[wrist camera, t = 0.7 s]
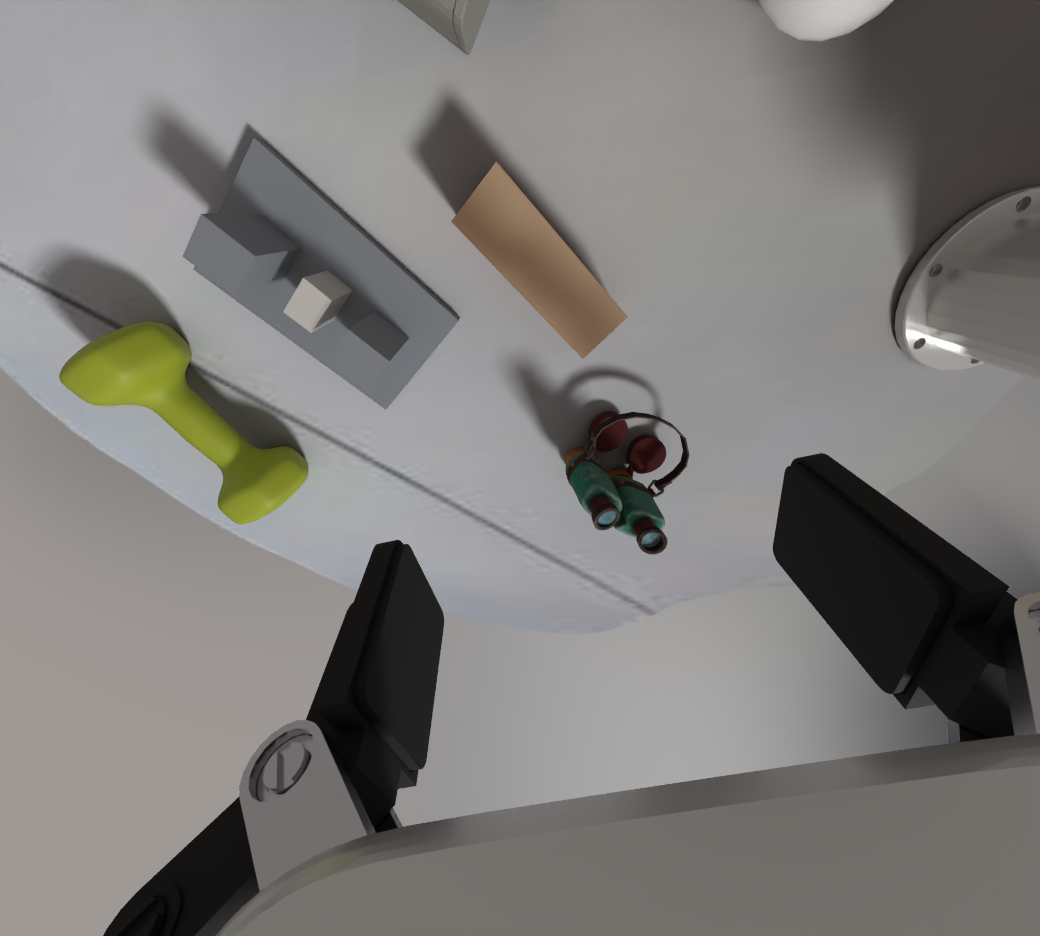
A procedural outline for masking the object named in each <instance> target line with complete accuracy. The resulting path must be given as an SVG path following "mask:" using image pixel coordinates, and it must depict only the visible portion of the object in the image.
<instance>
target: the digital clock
mask: <svg viewBox="0 0 1040 936" xmlns="http://www.w3.org/2000/svg"><path fill="white" fill-rule="evenodd" d="M398 1H399V2H400V3H402V4H403V5H404V6H405V7H407V8H408V9H409V10H411V11H412V12H413V13H414V14H416V15H417V16H418V17H419V18H421V19H422V20H423V21H425V22H426V23H427V24H428V25H430V26H431V27H432V28H434V29H435V30H436V31H437V32H439V33H440V34H441V35H442V36H444V37H445V38H446V39H448V40H449V41H450V42H451V43H453V44H454V45H455V46H456V47H458V48H459V49H460V50H462V51H463V52H464V53H465V54H467V55H469V53H470V52H471V49H472V47H473V44H474V42H475V39H476V36H477V34H478V31H479V28H480V26H481V23H482V20H483V18H484V15H485V12H486V9H487V7H488V4H489V1H490V0H398Z"/></svg>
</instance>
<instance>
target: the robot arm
mask: <svg viewBox="0 0 1040 936" xmlns="http://www.w3.org/2000/svg"><path fill="white" fill-rule="evenodd" d="M895 332H896V339H897V342H898V344H899V346H900V348H901V350H902V351H903V352H904V354H905V355H906V356H907V357H908V358H909V359H911V360H913V361H914V362H916V363H918V364H920V365H923V366H926V367H929V368H932V369H937V370H944V371H950V370H962V369H967V368H972V367H976V366H979V365H982V364H984V363H988V364H992V365H995V366H998V367H1001V368H1004V369H1008V370H1011V371H1014V372H1017V373H1020V374H1024V375H1027V376H1030V377H1033V378H1037V379H1040V187H1028V188H1024V189H1021V190H1017V191H1013V192H1009V193H1007V194H1005V195H1002V196H1000V197H998V198H996V199H993V200H991V201H989V202H987V203H985V204H984V205H982V206H980V207H979V208H977V209H976V210H974V211H972V212H971V213H969V214H968V215H966V216H965V217H964V218H962V219H961V220H960V221H959V222H957V223H956V224H955V225H954V226H952V227H951V228H950V229H949V230H948V231H947V232H946V233H945V234H944V235H943V236H942V237H941V238H940V239H939V240H938V241H936V242H935V243H934V244H933V246H932V247H931V248H930V249H929V251H928V252H927V253H926V254H925V255H924V257H923V258H922V259H921V260H920V262H919V263H918V265H917V266H916V268H915V269H914V271H913V273H912V274H911V276H910V277H909V279H908V281H907V283H906V285H905V287H904V290H903V292H902V294H901V296H900V300H899V303H898V307H897V310H896V317H895ZM773 553H774V556H775V558H776V560H777V562H778V563H779V564H780V566H781V567H782V568H783V569H784V571H785V572H786V573H787V574H788V575H789V577H790V578H791V579H792V580H793V582H794V583H795V584H796V585H797V587H798V588H799V589H800V590H801V591H802V593H803V594H804V595H805V596H806V597H807V599H808V600H809V601H810V602H811V604H812V605H813V606H814V607H815V609H816V610H817V611H818V612H819V614H820V615H821V616H822V617H823V619H824V620H825V621H826V622H827V624H828V625H829V626H830V627H831V628H832V630H833V631H834V632H835V633H836V635H837V636H838V637H839V638H840V640H841V641H842V642H843V643H844V644H845V646H846V647H847V648H848V649H849V650H850V652H851V653H852V654H853V656H854V657H855V658H856V659H857V660H858V662H859V663H860V664H861V665H862V667H863V668H864V669H865V670H866V672H867V673H868V674H869V675H870V677H871V678H872V679H873V680H874V681H875V683H876V684H877V685H878V686H879V687H880V688H881V689H882V690H883V691H884V692H886V693H889V694H893V695H894V696H895V697H896V699H897V700H898V701H899V702H900V703H901V705H902V706H903V707H904V708H905V709H910V708H917V707H923V706H929V705H934V704H936V705H937V707H938V708H939V709H940V710H941V711H942V712H943V713H944V714H945V715H946V717H947V727H948V744H943V745H935V746H927V747H920V748H912V749H905V750H898V751H892V752H885V753H878V754H871V755H864V756H857V757H851V758H843V759H836V760H829V761H822V762H816V763H809V764H802V765H795V766H788V767H781V768H774V769H768V770H761V771H754V772H747V773H740V774H734V775H727V776H720V777H714V778H707V779H700V780H693V781H688V782H680V783H673V784H667V785H660V786H654V787H648V788H640V789H634V790H627V791H620V792H614V793H607V794H601V795H594V796H588V797H581V798H575V799H569V800H562V801H556V802H549V803H543V804H537V805H530V806H523V807H517V808H511V809H504V810H497V811H491V812H485V813H479V814H473V815H467V816H462V817H456V818H450V819H445V820H440V821H433V822H427V823H422V824H416V825H411V826H405V827H403V826H402V824H401V822H400V820H399V818H398V816H397V814H396V813H395V811H394V809H393V806H394V805H395V801H396V796H397V790H398V789H399V788H406V787H412V786H416V783H417V776H418V769H422V768H423V767H424V766H425V763H426V759H427V752H428V743H429V736H430V728H431V720H432V713H433V705H434V697H435V690H436V682H437V674H438V666H439V658H440V650H441V643H442V636H443V627H444V616H443V612H442V609H441V607H440V605H439V603H438V601H437V599H436V597H435V595H434V593H433V591H432V589H431V587H430V585H429V583H428V581H427V579H426V577H425V575H424V573H423V571H422V569H421V567H420V565H419V563H418V561H417V559H416V557H415V555H414V553H413V551H412V549H411V547H410V546H409V545H408V544H404V545H403V543H402V542H401V541H400V540H395V541H390V542H385V543H381V544H377V545H375V547H374V549H373V552H372V554H371V557H370V560H369V562H368V565H367V568H366V571H365V573H364V576H363V579H362V581H361V584H360V587H359V589H358V592H357V595H356V598H355V600H354V602H353V603H352V604H351V605H350V607H349V609H348V610H347V613H346V615H345V618H344V621H343V623H342V626H341V629H340V631H339V634H338V637H337V639H336V642H335V644H334V647H333V650H332V652H331V655H330V658H329V660H328V663H327V666H326V668H325V671H324V673H323V676H322V679H321V682H320V684H319V687H318V689H317V692H316V695H315V698H314V700H313V703H312V705H311V708H310V710H309V713H308V716H307V718H306V720H299V721H294V722H292V723H290V724H287V725H285V726H283V727H281V728H280V729H278V730H277V731H275V732H274V733H272V735H270V737H268V738H267V739H266V740H265V741H264V742H263V743H262V744H261V745H260V746H259V748H258V749H257V750H256V752H255V753H254V754H253V756H252V757H251V759H250V761H249V763H248V765H247V766H246V769H245V770H244V772H243V776H242V780H241V783H240V796H239V797H238V798H237V799H236V800H235V801H234V802H233V803H232V804H231V805H230V806H229V807H228V808H227V809H226V810H224V811H223V812H222V813H221V814H220V815H219V816H218V817H217V818H216V819H215V820H214V821H213V822H212V823H211V824H210V825H208V826H207V827H206V828H205V829H204V830H203V831H202V832H201V833H200V834H199V835H198V836H197V837H196V838H195V839H193V840H192V841H191V842H190V843H189V844H188V845H187V846H186V847H185V848H184V849H183V850H182V851H181V852H180V853H178V854H177V855H176V856H175V857H174V858H173V859H172V860H171V861H170V862H169V863H168V864H167V865H166V866H165V867H164V868H162V869H161V870H160V871H159V872H158V873H157V874H156V875H155V876H154V877H153V878H152V879H151V880H150V881H148V882H147V883H146V884H145V885H144V886H143V887H142V888H141V889H140V890H139V891H138V892H137V893H136V894H135V895H134V896H133V897H132V898H131V899H130V900H129V901H128V903H127V904H126V905H125V906H124V907H123V908H122V909H121V910H120V912H119V913H118V915H117V916H116V917H115V919H114V920H113V921H112V923H111V924H110V925H109V927H108V928H107V930H106V932H105V933H104V935H103V936H1040V593H1033V594H1029V595H1025V596H1022V597H1021V598H1020V599H1019V600H1017V599H1016V598H1014V597H1013V596H1012V595H1010V594H1009V593H1008V592H1006V591H1007V590H1008V588H1009V586H1008V585H1006V584H1005V583H1004V582H1002V581H1001V580H999V579H998V578H996V577H995V576H994V575H992V574H991V573H990V572H988V571H987V570H985V569H984V568H983V567H981V566H980V565H979V564H977V563H976V562H974V561H973V560H972V559H970V558H969V557H967V556H966V555H965V554H963V553H962V552H961V551H959V550H958V549H956V548H955V547H954V546H952V545H951V544H950V543H948V542H947V541H945V540H944V539H943V538H941V537H940V536H938V535H937V534H936V533H934V532H933V531H932V530H930V529H929V528H928V527H926V526H925V525H923V524H922V523H921V522H919V521H918V520H917V519H915V518H914V517H912V516H911V515H910V514H908V513H907V512H905V511H904V510H903V509H901V508H900V507H899V506H897V505H896V504H894V503H893V502H892V501H890V500H889V499H887V498H886V497H885V496H883V495H882V494H881V493H879V492H878V491H876V490H875V489H874V488H872V487H871V486H870V485H868V484H867V483H865V482H864V481H863V480H861V479H860V478H858V477H857V476H856V475H854V474H853V473H852V472H850V471H849V470H847V469H846V468H845V467H843V466H842V465H841V464H839V463H838V462H836V461H835V460H834V459H832V458H831V457H829V456H828V455H826V454H822V453H820V454H815V455H810V456H805V457H800V458H796V459H794V460H793V462H792V464H791V466H788V467H787V468H786V470H785V474H784V480H783V487H782V493H781V499H780V505H779V512H778V518H777V524H776V530H775V537H774V543H773Z"/></svg>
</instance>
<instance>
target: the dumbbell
mask: <svg viewBox="0 0 1040 936" xmlns="http://www.w3.org/2000/svg"><path fill="white" fill-rule="evenodd" d="M191 356H192V354H191V349H190V346H189V345H188V344H187V342H186V341H185V340H184V339H183V338H182V337H181V336H180V335H179V334H178V333H177V332H176V331H175V330H174V329H172V328H171V327H170V326H168V325H166V324H163V323H158V322H152V321H146V322H138V323H134V324H131V325H128V326H125V327H123V328H120V329H118V330H115V331H113V332H110V333H108V334H106V335H104V336H101V337H99V338H97V339H95V340H94V341H92V342H90V343H89V344H87V345H86V346H84V347H83V348H82V349H80V350H79V351H78V352H77V353H76V354H75V355H73V356H72V357H71V358H70V359H69V360H68V361H67V362H66V363H65V365H64V366H63V367H62V370H61V372H60V375H59V378H60V381H61V382H62V383H63V384H64V385H65V386H66V387H67V388H68V389H69V390H70V391H72V392H73V393H74V394H75V395H77V396H78V397H80V398H81V399H82V400H84V401H86V402H87V403H90V404H93V405H99V406H117V405H139V406H144V407H147V408H149V409H151V410H153V411H154V412H156V413H157V414H158V415H159V416H160V417H162V418H163V419H164V420H165V421H166V422H167V423H168V424H169V425H170V426H171V427H172V428H173V429H174V430H175V431H177V432H178V433H179V434H180V435H181V436H182V437H183V438H184V439H185V440H186V441H187V442H189V443H190V444H191V445H192V446H194V447H195V448H196V449H197V450H199V451H200V452H201V453H202V454H204V455H205V456H206V457H207V458H209V459H210V460H211V461H213V462H214V463H215V464H216V465H217V466H218V467H219V468H220V469H221V471H222V474H223V484H222V487H221V490H220V493H219V497H218V506H219V509H220V510H221V511H222V512H223V513H224V514H225V515H226V516H227V517H228V518H230V519H231V520H232V521H234V522H235V523H237V524H247V523H251V522H253V521H256V520H258V519H260V518H262V517H264V516H265V515H267V514H269V513H271V512H272V511H274V510H275V509H277V508H278V507H279V506H281V505H282V504H283V503H284V502H285V501H286V500H288V499H289V498H290V497H291V496H292V495H293V494H294V493H295V492H296V491H297V490H298V489H299V488H300V486H301V485H302V484H303V483H304V481H305V480H306V478H307V475H308V463H307V461H306V460H305V459H304V458H303V457H302V456H301V455H300V454H299V453H298V452H297V451H296V450H294V449H293V448H291V447H287V446H280V447H275V448H271V449H260V448H257V447H254V446H253V445H251V444H250V443H248V442H247V441H246V440H245V439H244V438H243V437H242V436H241V435H240V434H239V433H238V432H237V431H236V430H235V429H234V428H233V427H232V426H231V425H229V424H228V423H227V422H226V421H225V420H224V419H223V418H222V417H221V416H220V415H219V414H218V413H217V412H216V411H214V410H213V409H212V408H211V407H210V406H209V405H208V404H207V403H206V402H205V401H204V400H203V399H201V398H200V397H199V396H198V395H197V394H196V393H195V392H194V391H192V389H191V388H190V387H189V386H188V384H187V382H186V379H185V371H186V368H187V366H188V364H189V362H190V360H191Z"/></svg>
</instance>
